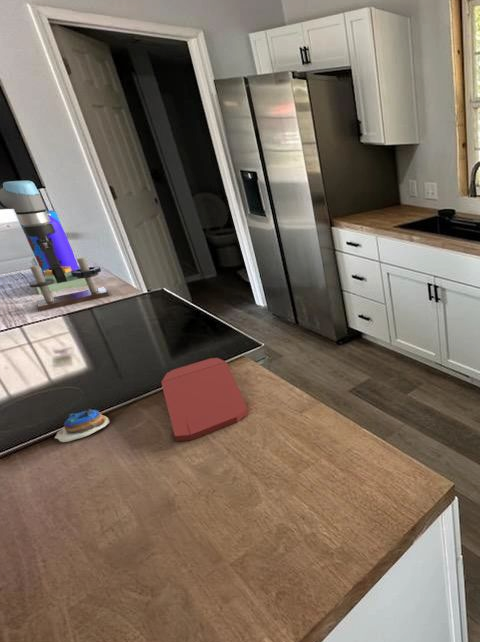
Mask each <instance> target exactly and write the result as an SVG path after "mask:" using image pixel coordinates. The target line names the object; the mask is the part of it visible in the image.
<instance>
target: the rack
mask: <svg viewBox="0 0 480 642" xmlns="http://www.w3.org/2000/svg"><path fill="white" fill-rule="evenodd" d="M76 262H77V264H78V267H79V268H81V270H82V271H87V270H90V269H89V267H90V266H89V265H88V261H87V260H86V258H85V257H78V258H76ZM29 268H30V271H31V273H32V275H33V277H34V281H31V282H29V284H28V285H29V288H36V287H39V288H40V290H41V292H42V294H41V295H42V296H43V299H39V300H36V304H37V308H38V311H39V312H44V311H48V310H53V309H56V308H57V309H58V308H62V307H63V308H64V307H67V306H71V305H75V304H80V303H85V302H89V301H93V300H98V299H103V298H108V297H110V295H109V292H108V290H107V289H106V288H105V286H100V287H98V286H97V284H96V282H95V280H94V277H96V276H98V275H99V274H100V272H98V273H96V274H92V275H87V276H80V277H77V278H80V279H81V278H85V280H86V282H87V285H86V286H87V287H88V289H87V290H86V289H85V290H81V291H76V292H72V293H68V294H67V293H66V294H62V295H57V296H53V294H52V292H51V291H50V289H49V287H48V285H50V284H53V283H54V280H53V279H45V278H44V277H45V275H44V274H43V272H42V270H41V268H40V266H39V264H33V265H31V266H29ZM35 279H36V281H35Z"/></svg>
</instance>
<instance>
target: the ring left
mask: <svg viewBox="0 0 480 642" xmlns="http://www.w3.org/2000/svg"><path fill="white" fill-rule="evenodd" d="M61 268H62V270H63V272H64V273H68V272H70V271H72V269H71V267H70V266H62V267H61ZM43 272H44V274H45V275H44V274H43V275H44V277H47V276H53V272H52V270H49V269H47V270H44V271H43ZM43 272H42V273H43Z"/></svg>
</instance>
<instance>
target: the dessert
mask: <svg viewBox="0 0 480 642" xmlns="http://www.w3.org/2000/svg"><path fill="white" fill-rule="evenodd" d="M110 422H111V420H110V418H109V417H107V416H106V415H103V414H101V412H100V411H99V410H96V409H91V408H88V409H87V410H84V411H81V412H78V413H77V412H75V413H70V414H69V416H68V418H67V419H66V420H65V421H64V422H63V428H62V429H60V430H59V431H58V432H56V435H55V436H54V439H57V440H58V441H59V442H61V443H68V442H72V441H75V440H78V439H82V438H85V437H87V436H88V437H89V436H90V435H91V434H93V433H95V432H98V431H100V430H101V429H104V428H105V427H106V426H107V425H108V424H110Z"/></svg>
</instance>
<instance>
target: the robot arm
mask: <svg viewBox="0 0 480 642" xmlns="http://www.w3.org/2000/svg"><path fill="white" fill-rule="evenodd" d="M2 186H3V187H0V211H1V210H13V211H14V213H15V216H16V217H17V220H19V221H18V223H19V222H20V223H19V225H20V224H21V225H24V226H23V229H22V231H23V230H24V232H25V234H24V235H26V236H28V237H35V236H37V237H38V240H36V242H37V244H38V246H40V249H41V251H42V252H43V253H45V256H46V258H47V260H48V262H49V265H50V268H49V270H52V272H53V275H54V277H55V279H56V281H57V283H62V282H67V279H66V276H65V274H64V272H63V270H62V268H61V265H60V264H59V263H62V262H61V261H58V259H57V257H56V255H55V253H54V251H55V248H54V246H53V241H52V239H51V238H48V237H47V236H46V235H50V234H54V233H55V229H54V227H53V225H52V224H51V223H49V222H50V218H49V217H48V216H51V214H49V213H48V214H47V212H46V211H47V209H46V208H45V205H44V203H43V200H42V197H41V194H40V191H39V190H38V188H37V186H36V184H35V183H34V182H33V181H31V180H13V181H11V180H10V181H4V182H3V183H2ZM21 225H20V226H21ZM24 232H23V233H24ZM26 236H25V237H26Z"/></svg>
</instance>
